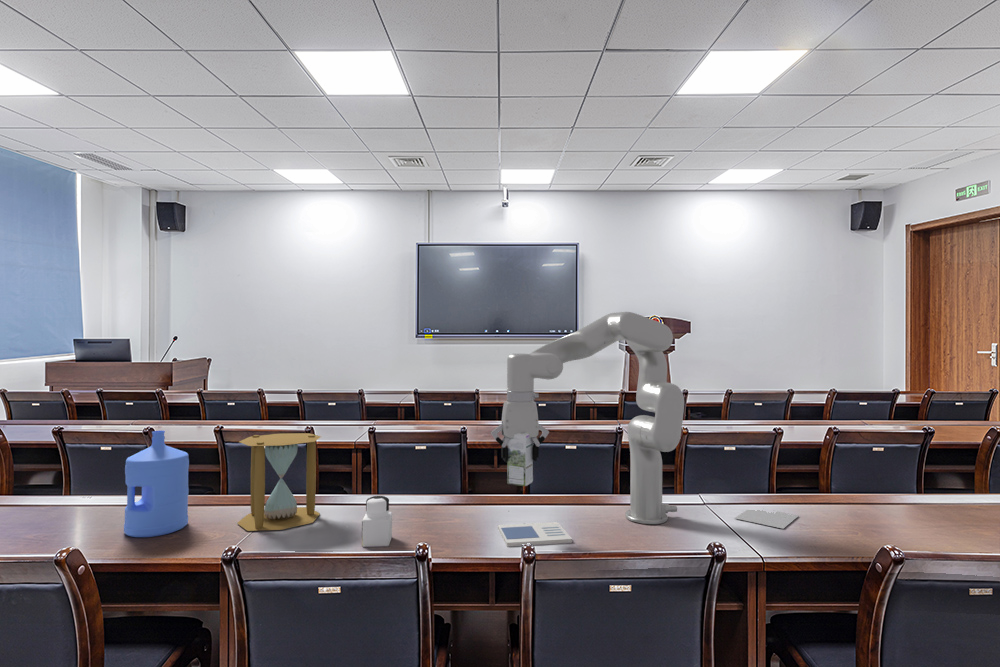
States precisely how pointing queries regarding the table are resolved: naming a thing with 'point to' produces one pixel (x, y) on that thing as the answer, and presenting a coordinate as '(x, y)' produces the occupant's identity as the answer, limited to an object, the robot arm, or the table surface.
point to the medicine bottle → (377, 523)
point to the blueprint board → (534, 534)
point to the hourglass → (281, 501)
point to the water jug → (157, 490)
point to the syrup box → (520, 460)
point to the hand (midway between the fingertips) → (519, 460)
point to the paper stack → (767, 518)
